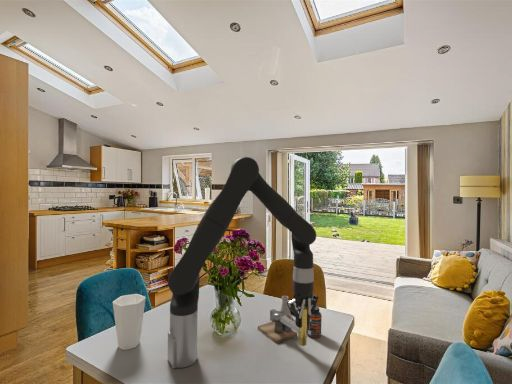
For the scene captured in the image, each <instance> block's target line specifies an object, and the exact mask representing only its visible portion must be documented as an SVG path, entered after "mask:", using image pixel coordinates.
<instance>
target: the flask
mask: <svg viewBox="0 0 512 384" xmlns="http://www.w3.org/2000/svg"><path fill="white" fill-rule="evenodd" d="M281 299H282V300H281V306H280V309H279V311H281V312H284V313H285V315H289V316H290V317H291V320H293V316H292V315H291V313H290V310H289V308H288V305H287V301H289V296H288V295H282V296H281Z"/></svg>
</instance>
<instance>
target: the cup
mask: <svg viewBox="0 0 512 384" xmlns="http://www.w3.org/2000/svg"><path fill="white" fill-rule="evenodd" d="M145 305H146V296H145V295H141V294H139V293H133V294H126V295H125V294H124V295H121V296H119V297H117V298H116V299H115V300H113V301H112V306H113V307H112V309H113V315H114V316H113V317H114V324H115V332H116V338H117V341H116V342H117V345H118V348H119V349H120V350H122V351H126V350H130V349H131V350H132V349H135V348H136V347H137V346H138V345H140V343H141V336H142V335H141V334H142V329H143V328H142V327H143V321H144V312H145Z"/></svg>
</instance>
